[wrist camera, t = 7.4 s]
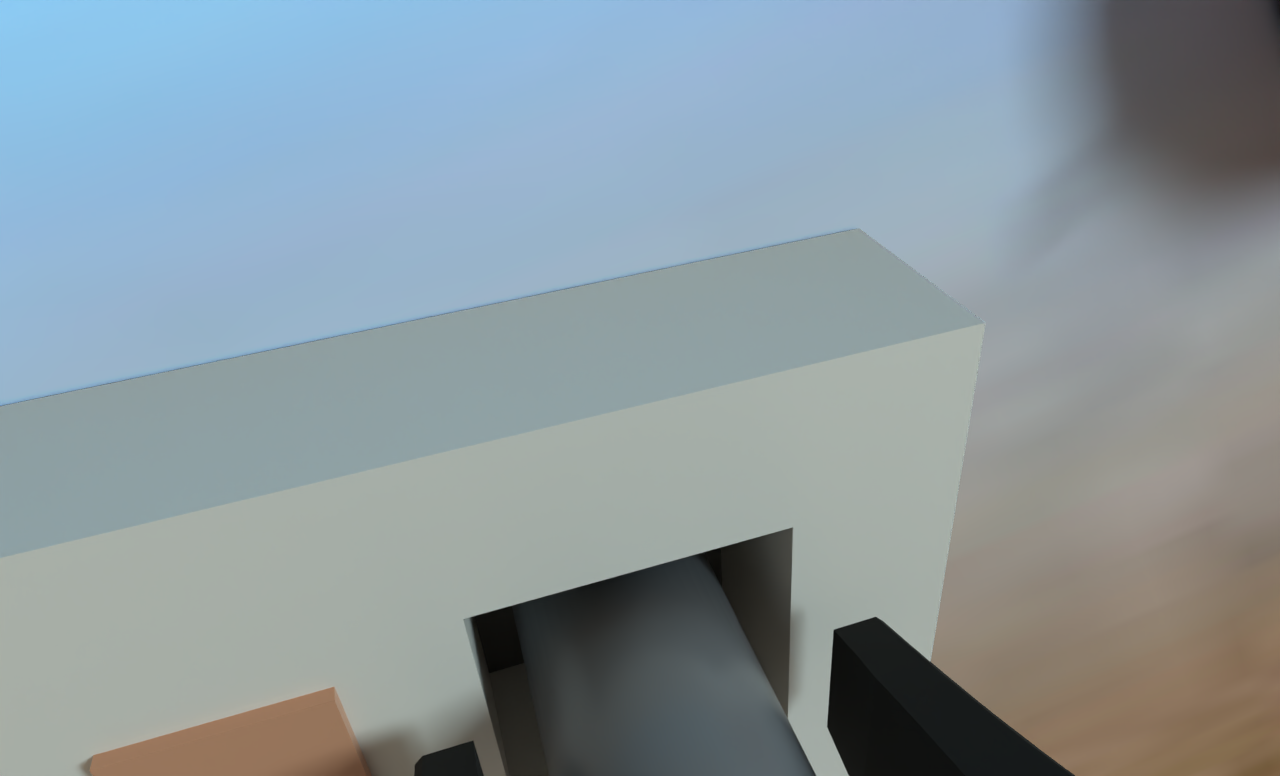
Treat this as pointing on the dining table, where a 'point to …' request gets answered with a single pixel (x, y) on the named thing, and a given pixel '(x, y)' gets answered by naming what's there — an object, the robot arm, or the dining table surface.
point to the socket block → (473, 513)
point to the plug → (652, 680)
